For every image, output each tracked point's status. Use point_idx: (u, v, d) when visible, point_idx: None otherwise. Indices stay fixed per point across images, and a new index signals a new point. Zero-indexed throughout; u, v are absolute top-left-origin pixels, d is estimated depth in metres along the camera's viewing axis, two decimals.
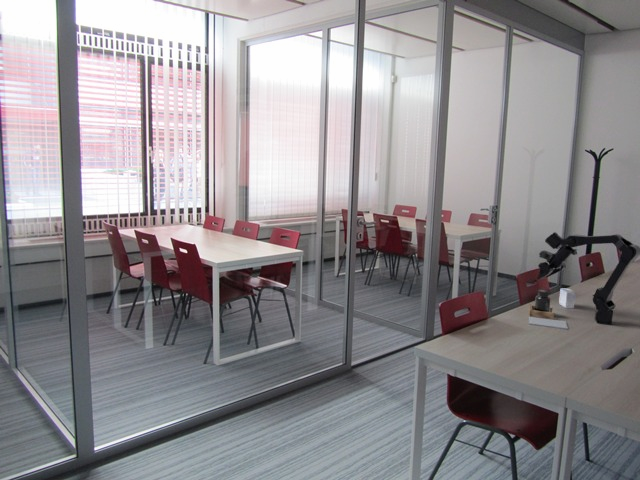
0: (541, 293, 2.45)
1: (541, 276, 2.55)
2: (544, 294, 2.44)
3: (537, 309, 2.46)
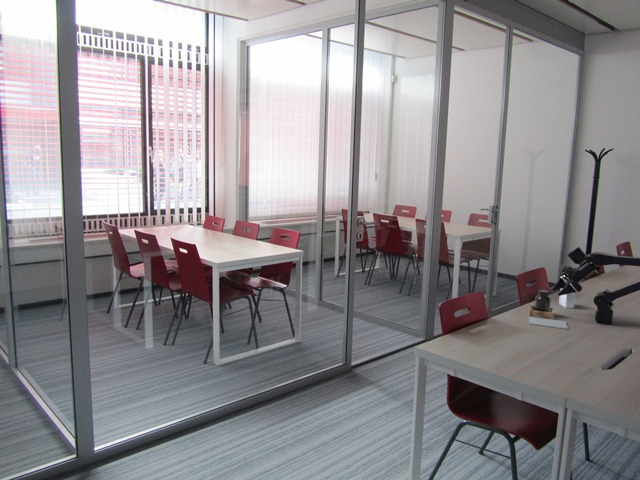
0: (541, 293, 2.45)
1: (565, 293, 2.40)
2: (544, 294, 2.44)
3: (537, 309, 2.46)
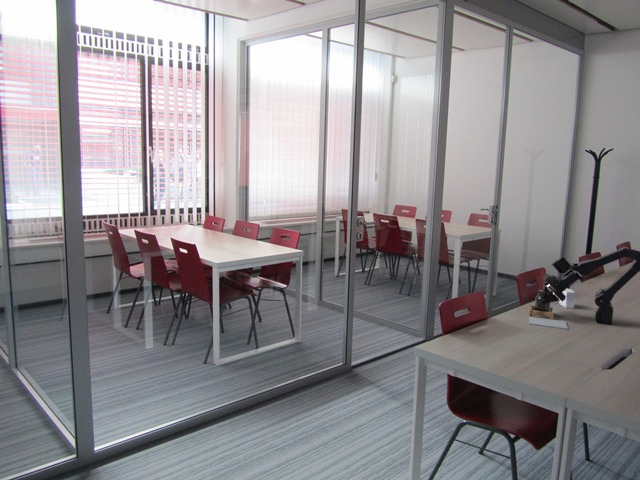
0: (541, 293, 2.45)
1: (548, 301, 2.42)
2: (544, 294, 2.44)
3: (537, 309, 2.46)
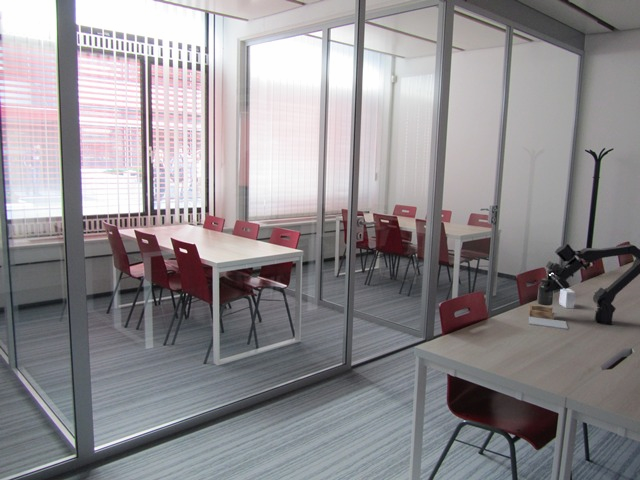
0: (544, 281, 2.40)
1: (551, 289, 2.38)
2: (547, 282, 2.40)
3: (540, 298, 2.42)
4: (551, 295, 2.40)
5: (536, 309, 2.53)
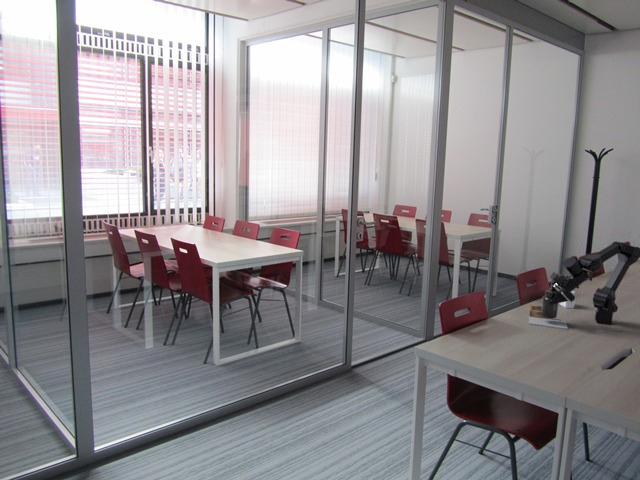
0: (548, 293, 2.32)
1: (556, 302, 2.29)
2: (552, 295, 2.31)
3: (544, 310, 2.33)
4: (555, 307, 2.31)
5: (536, 309, 2.53)
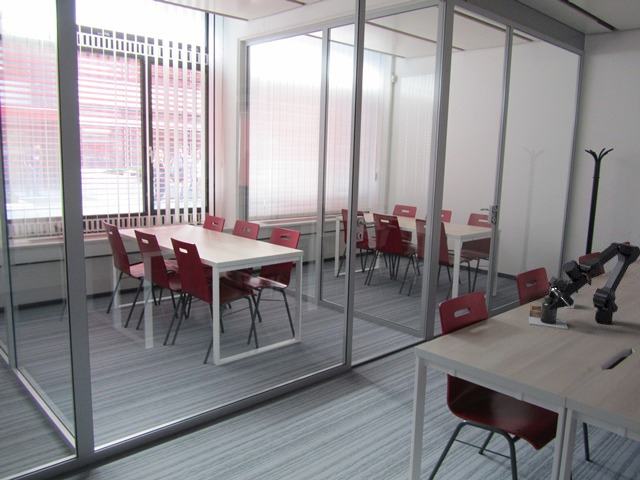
0: (548, 299, 2.32)
1: (556, 306, 2.28)
2: (551, 300, 2.32)
3: (544, 316, 2.33)
4: (555, 313, 2.32)
5: (536, 309, 2.53)
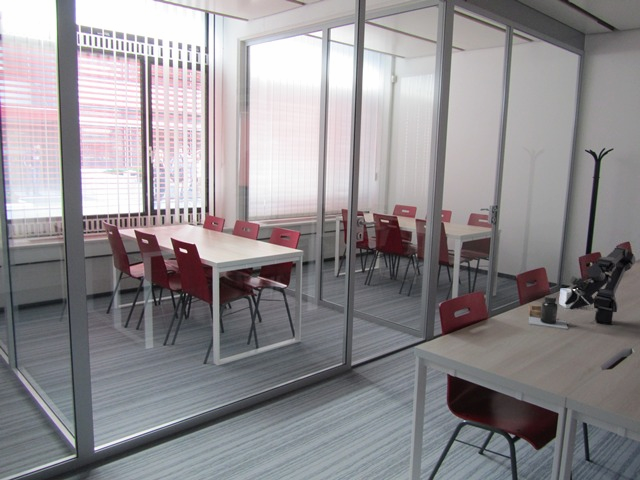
0: (548, 299, 2.32)
1: (577, 306, 2.27)
2: (551, 300, 2.32)
3: (544, 316, 2.33)
4: (555, 313, 2.32)
5: (536, 309, 2.53)
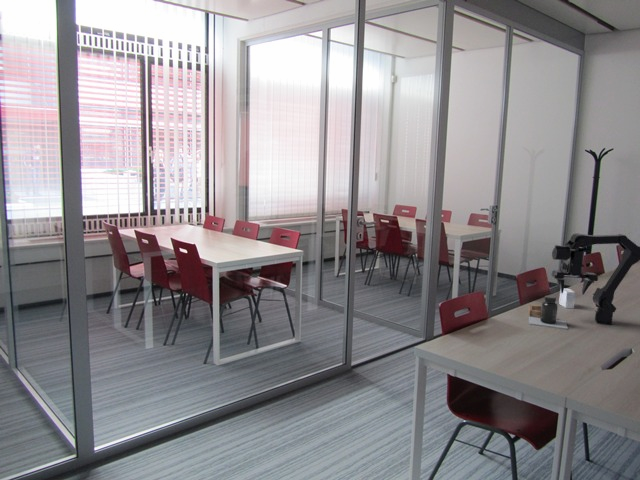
0: (548, 299, 2.32)
1: (560, 287, 2.39)
2: (551, 300, 2.32)
3: (544, 316, 2.33)
4: (555, 313, 2.32)
5: (536, 309, 2.53)
